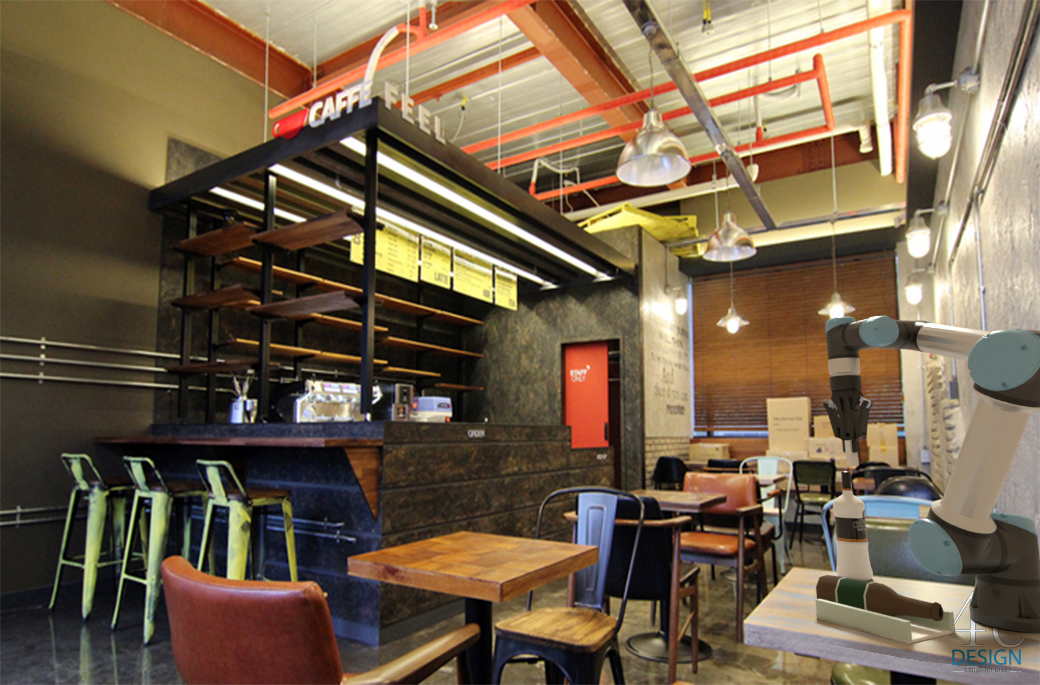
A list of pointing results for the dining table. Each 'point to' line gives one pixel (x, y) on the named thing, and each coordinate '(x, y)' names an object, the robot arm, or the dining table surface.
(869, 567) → the vodka
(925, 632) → the rest
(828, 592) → the beer bottle
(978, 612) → the robot arm
